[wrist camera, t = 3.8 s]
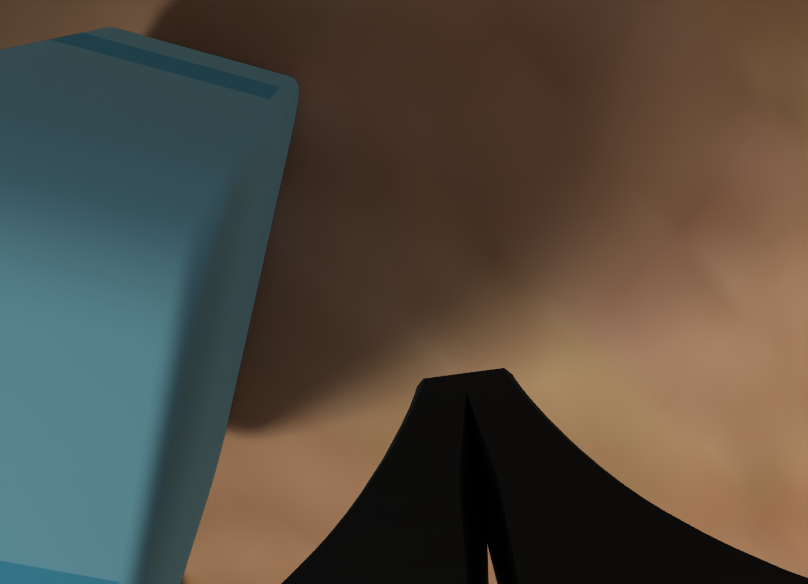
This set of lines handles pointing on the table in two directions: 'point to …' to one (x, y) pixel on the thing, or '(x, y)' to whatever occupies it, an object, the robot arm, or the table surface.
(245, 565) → the table surface
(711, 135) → the table surface
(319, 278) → the table surface
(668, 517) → the robot arm
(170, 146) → the data package
